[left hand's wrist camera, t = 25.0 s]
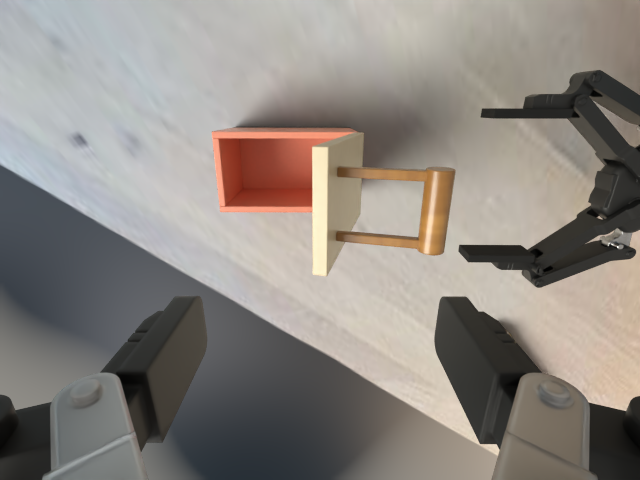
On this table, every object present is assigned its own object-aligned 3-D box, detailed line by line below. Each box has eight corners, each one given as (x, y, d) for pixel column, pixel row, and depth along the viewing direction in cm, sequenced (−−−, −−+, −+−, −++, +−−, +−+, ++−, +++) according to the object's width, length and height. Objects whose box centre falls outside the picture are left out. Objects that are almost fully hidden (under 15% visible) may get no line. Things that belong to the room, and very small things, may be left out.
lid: (312, 275, 25) (444, 291, 23) (311, 146, 21) (465, 150, 19) (350, 213, 40) (432, 219, 38) (354, 132, 36) (443, 133, 34)
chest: (239, 192, 50) (220, 212, 40) (234, 127, 47) (211, 131, 37) (348, 192, 50) (355, 212, 40) (350, 127, 47) (358, 131, 37)
